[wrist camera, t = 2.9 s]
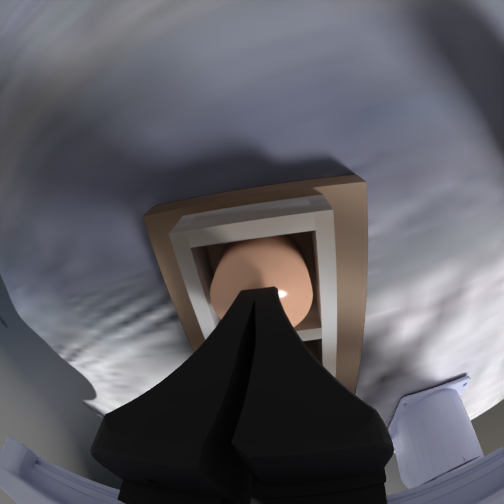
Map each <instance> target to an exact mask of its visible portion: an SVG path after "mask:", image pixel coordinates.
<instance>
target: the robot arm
mask: <svg viewBox="0 0 504 504" xmlns="http://www.w3.org/2000/svg"><path fill="white" fill-rule="evenodd" d="M469 381H470V377H469V376H465V377H463V378H460V379H457V380H455V381H452V382H449V383H446V384H443V385H441V386H438V387H435V388H431V389H428V390H425V391H422V392H419V393H415V394H412V395H408V396H405V397H403V398H402V399H401V400H400V402H399V405H398V407H397V409H396V412H395V414H394V417H393V419H392V421H391V423H390V426H389V428H388V430H387V428H386V426H385V424H384V422H383V420H382V419H381V417H380V415H379V414H378V412H377V411H376V410H375V409H373V408H372V407H371V406H369V405H368V404H366V403H365V402H363V401H362V400H361V399H359V398H358V397H357V396H355V395H354V394H353V393H352V392H351V391H349V390H348V389H347V388H346V387H345V386H343V385H342V384H341V383H340V382H339V381H338V380H337V379H336V378H335V377H334V376H333V375H332V374H331V373H330V372H329V371H328V370H327V369H326V368H325V367H324V366H323V365H322V364H321V363H320V362H319V361H318V360H317V359H316V357H315V356H314V355H313V354H312V353H311V351H310V350H309V349H308V348H307V346H306V345H305V344H304V342H303V341H302V340H301V338H300V337H299V335H298V334H297V332H296V330H295V329H294V327H293V326H292V324H291V322H290V320H289V318H288V317H287V315H286V313H285V311H284V309H283V306H282V304H281V301H280V298H279V293H278V289H277V288H276V287H275V286H273V287H265V288H256V289H248V290H241V291H240V292H239V294H238V295H237V297H236V298H235V300H234V301H233V303H232V305H231V306H230V308H229V309H228V311H227V312H226V314H225V315H224V316H223V318H222V319H221V321H220V322H219V323H218V325H217V326H216V327H215V329H214V330H213V331H212V332H211V334H210V335H209V336H208V337H207V339H206V340H205V341H204V342H203V343H202V345H201V346H200V347H199V348H198V349H197V350H196V351H195V352H194V353H193V354H192V355H191V356H190V357H189V358H188V359H187V360H186V361H185V362H184V363H183V364H182V365H181V366H180V367H178V368H177V369H176V370H175V371H174V372H172V373H171V374H170V375H169V376H168V377H166V378H165V379H164V380H163V381H161V382H160V383H159V384H157V385H156V386H154V387H153V388H151V389H150V390H148V391H147V392H145V393H144V394H142V395H141V396H139V397H137V398H136V399H134V400H132V401H131V402H129V403H127V404H125V405H123V406H121V407H119V408H117V409H115V410H113V411H112V412H109V413H107V414H105V416H104V418H103V421H102V423H101V425H100V428H99V430H98V433H97V435H96V437H95V440H94V442H93V445H92V447H91V454H92V456H93V457H94V459H95V460H96V461H97V462H99V463H100V464H101V465H102V466H104V467H105V468H107V469H108V470H109V471H111V472H112V473H114V474H115V475H117V476H118V477H120V478H121V479H123V482H122V485H121V488H120V490H117V489H114V488H111V487H108V486H105V485H102V484H99V483H97V482H94V481H91V480H89V479H86V478H84V477H81V476H79V475H76V474H74V473H71V472H69V471H67V470H65V469H63V468H60V467H58V466H56V465H54V464H52V463H50V462H48V461H46V460H44V459H42V458H40V457H38V456H37V454H35V453H34V452H33V451H32V450H30V449H29V448H28V447H26V446H25V445H24V444H22V443H20V442H19V441H17V440H15V439H14V438H12V437H10V436H8V437H7V439H6V441H5V443H4V446H3V447H2V450H1V451H0V488H1V489H2V490H3V491H4V492H6V493H7V494H8V495H9V496H10V497H11V498H12V499H13V500H14V501H15V502H16V503H17V504H504V446H503V447H501V448H499V449H497V450H496V451H494V452H492V453H491V454H489V455H487V456H485V457H484V456H483V453H482V450H481V448H480V445H479V442H478V439H477V436H476V434H475V431H474V429H473V426H472V424H471V421H470V419H469V416H468V414H467V412H466V409H465V407H464V405H463V402H462V400H461V398H460V396H461V395H462V393H463V391H464V390H465V388H466V386H467V384H468V383H469ZM392 440H393V442H392ZM393 444H394V446H393ZM394 449H395V453H396V457H397V462H398V465H399V471H400V476H401V479H402V482H403V483H404V485H406V487H408V488H409V489H408V490H404V491H401V492H398V493H395V494H391V495H387V496H386V492H385V486H384V483H385V482H386V475H385V470H384V467H385V465H386V464H387V463H388V461H389V460H390V458H391V457H392V455H393V453H394Z"/></svg>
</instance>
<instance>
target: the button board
mask: <svg viewBox="0 0 504 504" xmlns="http://www.w3.org/2000/svg"><path fill="white" fill-rule="evenodd" d="M143 219H144V222H145V225H146V229H147V232H148V235H149V238H150V241H151V244H152V247H153V250H154V253H155V256H156V259H157V261H158V264H159V267H160V270H161V273H162V275H163V278H164V281H165V283H166V286H167V289H168V291H169V294H170V297H171V299H172V302H173V304H174V307H175V309H176V312H177V314H178V317H179V319H180V322H181V324H182V326H183V329H184V331H185V334H186V336H187V338H188V341H189V343H190V345H191V347H192V350H193V352H195V351H196V350H197V349H198V348H199V347H200V346H201V345H202V343H203V342H204V341H205V340H206V339H207V337H208V336H209V335H210V334H211V332H212V331H213V330H214V329H215V327H216V326H217V325H218V323H219V322H220V321H221V319H220V318H219V317H218V315H217V314H216V312H215V311H214V309H213V306H212V303H211V299H210V289H211V285H212V281H213V278H214V275H215V272H216V269H217V266H218V262H219V259H220V256H221V254H222V251H223V249H224V248H225V246H226V245H227V244H228V243H229V242H233V241H240V240H248V239H255V238H262V237H269V236H276V235H284V234H286V235H288V236H289V237H291V238H292V239H293V240H294V241H295V242H296V243H297V244H298V245H299V246H300V248H301V249H302V251H303V253H304V256H305V259H306V263H307V268H308V272H309V277H310V281H311V286H312V292H313V299H312V304H311V307H310V310H309V312H308V313H307V315H306V316H305V318H304V319H303V320H302V321H301V322H300V323H299V324H298V325H296V326H295V327H294V329H295V330H296V332H297V334H298V335H299V337H300V338H301V340H302V341H303V342H304V344H305V345H306V346H307V348H308V349H309V350H310V351H311V353H312V354H313V355H314V356H315V357H316V359H317V360H318V361H319V362H320V363H321V364H322V365H323V366H324V367H325V368H326V369H327V370H328V371H329V372H330V373H331V374H332V375H333V376H334V377H335V378H336V379H337V380H338V381H339V382H340V383H341V384H342V385H343V386H345V387H346V388H347V389H348V390H349V391H351V392H352V393H353V394H354V395H355V393H356V387H357V380H358V373H359V366H360V359H361V350H362V341H363V332H364V321H365V308H366V292H367V268H368V210H367V187H366V181H365V180H363V179H362V178H360V177H359V176H358V175H346V176H337V177H328V178H319V179H311V180H303V181H295V182H287V183H280V184H273V185H266V186H260V187H253V188H247V189H241V190H235V191H229V192H223V193H218V194H212V195H207V196H201V197H196V198H191V199H186V200H181V201H176V202H171V203H166V204H161V205H157V206H154V207H152V208H151V209H150V210H149V211H148V212H147V213H146V214H145V215H143Z"/></svg>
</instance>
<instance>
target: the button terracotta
mask: <svg viewBox="0 0 504 504" xmlns="http://www.w3.org/2000/svg"><path fill="white" fill-rule="evenodd" d="M273 286H275V287H276V288H277V289H278V293H279V298H280V301H281V304H282V306H283V309H284V311H285V313H286V315H287V317H288V318H289V320H290V322H291V324H292V326H293V327H295V326H296V325H298V324H299V323H300V322H301V321H302V320H303V319H304V318H305V316H306V315H307V313H308V312H309V310H310V307H311V304H312V299H313V292H312V286H311V281H310V277H309V272H308V268H307V263H306V259H305V256H304V253H303V251H302V249H301V248H300V246H299V245H298V244H297V243H296V242H295V241H294V240H293V239H292V238H291V237H289V236H288V235H286V234H284V235H276V236H269V237H262V238H255V239H248V240H240V241H233V242H229V243H228V244H227V245H226V246H225V248H224V249H223V251H222V254H221V256H220V259H219V262H218V266H217V269H216V272H215V275H214V278H213V281H212V285H211V289H210V299H211V303H212V306H213V309H214V311H215V312H216V314H217V315H218V317H219V318H220V319H222V318H223V316H224V315H225V314H226V312H227V311H228V309H229V308H230V306H231V305H232V303H233V301H234V300H235V298H236V297H237V295H238V294H239V292H240V291H241V290H248V289H256V288H265V287H273Z"/></svg>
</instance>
